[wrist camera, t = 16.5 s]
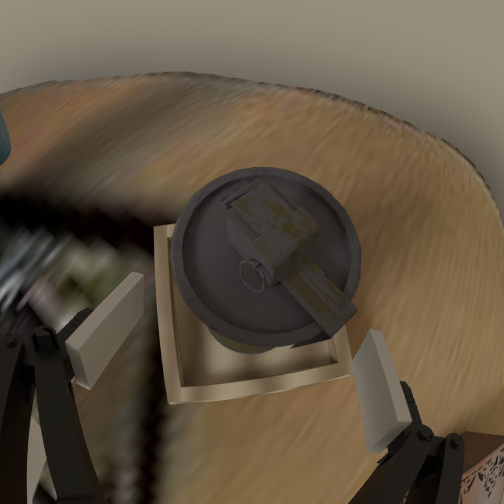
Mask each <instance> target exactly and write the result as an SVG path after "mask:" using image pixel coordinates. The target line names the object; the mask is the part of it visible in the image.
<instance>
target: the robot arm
mask: <svg viewBox="0 0 504 504" xmlns="http://www.w3.org/2000/svg"><path fill="white" fill-rule="evenodd" d="M10 151H11V142H10V137H9V133H8V130H7V127H6V124H5V121H4V118H3V115H2V112H1V110H0V166H1V165H2V164H3V163H4V162H5V161H6V160H7V158H8V157H9V155H10ZM143 314H144V275H143V274H140V273H136V272H132V273H131V274H130V275H129V276H128V277H126V278H125V279H124V280H123V281H122V282H121V283H120V284H119V285H118V286H117V287H116V288H115V289H114V290H113V292H112V293H111V294H110V295H109V296H108V297H107V298H106V299H105V300H104V301H103V302H102V303H101V304H100V305H99V306H98V307H97V308H96V309H95V310H92V309H89V308H86V309H84V310H82V311H80V312H78V313H77V314H76V315H75V316H74V317H73V319H71V320H70V321H69V323H68V324H66V326H65V327H64V328H63V329H62V330H61V331H60V332H59V333H58V334H56V331H55V330H54V329H53V328H52V327H49V326H39V327H37V328H35V329H33V331H32V332H31V333H30V340H31V343H32V344H29V343H25V342H23V340H22V337H21V335H19V334H18V333H15V332H10V333H7V334H5V335H4V336H2V338H1V339H0V504H27V453H28V438H29V428H30V420H31V412H32V406H33V399H34V393H35V388H36V394H37V403H38V412H39V419H40V426H41V432H42V437H43V443H44V448H45V452H46V457H47V461H48V466H49V470H50V473H51V477H52V481H53V484H54V488H55V491H56V494H57V500H56V504H108V502H107V500H106V498H105V495H104V493H103V490H102V488H101V485H100V483H99V480H98V478H97V475H96V472H95V469H94V467H93V464H92V461H91V458H90V455H89V452H88V448H87V445H86V442H85V438H84V435H83V431H82V427H81V424H80V420H79V416H78V411H77V407H76V403H75V398H74V393H73V388H72V384H71V380H72V379H73V377H74V376H75V378H76V382H77V384H79V385H81V386H83V387H85V388H87V389H89V390H90V389H91V388H92V386H93V385H94V383H95V382H96V380H97V379H98V377H99V376H100V375H101V373H102V372H103V370H104V369H105V367H106V366H107V364H108V363H109V361H110V360H111V358H112V357H113V356H114V354H115V353H116V351H117V350H118V348H119V347H120V346H121V344H122V343H123V341H124V340H125V339H126V337H127V336H128V334H129V333H130V332H131V330H132V329H133V327H134V326H135V325H136V323H137V322H138V321H139V319H140V318H141V316H142V315H143ZM351 363H352V368H353V373H354V378H355V383H356V388H357V393H358V399H359V404H360V410H361V416H362V421H363V427H364V434H365V440H366V447H367V453H379V452H382V451H383V450H384V449H385V448H386V447H387V448H388V453H387V454H386V455H385V456H384V457H383V458H381V459H380V460H379V461H378V462H377V463H378V464H379V465H378V466H377V468H376V469H375V470H374V472H373V473H372V474H371V476H370V477H369V478H368V480H367V481H366V482H365V483H364V485H363V486H362V487H361V488H360V490H359V491H358V492H357V493H356V495H355V496H354V497H353V498H352V499H351V501H350V502H349V503H348V504H400V503H401V502H402V500H403V499H404V497H405V495H406V494H407V492H408V490H409V492H408V495H407V498H406V502H405V504H458V501H459V495H460V489H461V482H462V474H463V465H464V453H465V442H464V440H463V438H462V437H461V436H460V435H458V434H457V433H451V434H449V435H448V436H447V437H446V438H442V437H438V436H434V434H433V432H432V430H431V429H430V428H429V427H428V426H425V425H423V424H422V421H421V418H420V415H419V412H418V409H417V406H416V404H415V400H414V398H413V394H412V391H411V389H410V387H409V386H408V385H407V383H406V382H404V381H399V378H398V376H397V373H396V370H395V367H394V364H393V361H392V359H391V356H390V353H389V351H388V348H387V345H386V343H385V340H384V337H383V335H382V332H381V331H380V330H375V329H369V331H368V333H367V335H366V337H365V339H364V340H363V342H362V344H361V346H360V348H359V350H358V351H357V353H356V355H355V357H354V359H353V360H352V362H351ZM409 488H410V489H409Z"/></svg>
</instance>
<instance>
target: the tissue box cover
mask: <svg viewBox="0 0 504 504" xmlns="http://www.w3.org/2000/svg"><path fill="white" fill-rule="evenodd" d="M460 436H461V437H462V438H463V440H464V442H465V453H464V465H463V474H462V482H461V489H460V495H459V501H458V504H501V500H502V495H503V491H504V436H501V435H491V434H483V433H475V432H468V431H466V432H464V433H463V434H461V435H460ZM409 489H410V488H409ZM408 492H409V490H408ZM408 492H407V494H406V495H405V497H404V499H403V500H402V502H401V503H400V504H405V502H406V498H407V495H408Z"/></svg>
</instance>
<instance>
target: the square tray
mask: <svg viewBox="0 0 504 504" xmlns="http://www.w3.org/2000/svg"><path fill="white" fill-rule="evenodd" d="M175 225H176V224H172V225H164V226H156V227H154V252H155V279H156V297H157V311H158V323H159V334H160V344H161V353H162V362H163V370H164V378H165V385H166V392H167V398H168V403H169V404H184V403H198V402H210V401H219V400H228V399H236V398H244V397H251V396H258V395H264V394H270V393H276V392H281V391H287V390H292V389H297V388H302V387H306V386H311V385H315V384H320V383H324V382H328V381H332V380H336V379H340V378H344V377H347V376H350V374H353V368H352V363H351V362H352V357H351V351H350V346H349V340H348V335H347V330H346V324H345V325H344V326H343V327H342V328H341V329H340V330H339V331H338V332H337V333H336V334H335V335H334V336H333V337H332V338H331V339H329V340H325V341H322V342H318V343H313V344H309V345H305V346H301V347H296V348H292V349H290V348H291V347H292V346H293V345H295V344H293V345H289V346H283V347H275V348H274V349H272V350H270V351H267V352H264V353H260V354H242V353H237V352H235V351H232V350H230V349H228V348H226V347H224V346H223V345H221V344H220V343H219V342H218V341H217V340H216V339H215V338H214V337H213V336H212V334H211V333H210V332H209V330H208V328H207V326H206V325H205V324H204V323H203V322H202V321H201V320H200V319H199V318H198V317H197V316H196V315H194V313H193V312H192V311H191V309H190V308H189V307H188V305H187V304H186V303H185V301H184V300H183V298H182V296H181V294H180V292H179V290H178V287H177V285H176V283H175V281H174V275H173V270H172V264H171V259H170V253H171V240H172V235H173V231H174V228H175Z"/></svg>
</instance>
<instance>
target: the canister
mask: <svg viewBox="0 0 504 504" xmlns="http://www.w3.org/2000/svg"><path fill="white" fill-rule="evenodd" d="M170 259H171V264H172V270H173V275H174V281H175V283H176V285H177V287H178V290H179V292H180V294H181V296H182V298H183V300H184V301H185V303H186V304H187V305H188V307H189V308H190V309H191V311H192V312H193V313H194V315H196V316H197V317H198V318H199V319H200V320H201V321H202V322H203V323H204V324H205V325H206V326H207V328H208V330H209V332H210V333H211V334H212V336H213V337H214V338H215V339H216V340H217V341H218V342H219V343H220V344H221V345H223V346H224V347H226V348H228V349H230V350H232V351H235V352H237V353H242V354H260V353H264V352H267V351H270V350H272V349H274V348H275V347H283V346H289V345H293V344H295V345H293V346H292V347H291V348H290V349H292V348H296V347H301V346H305V345H309V344H313V343H318V342H322V341H325V340H329V339H331V338H332V337H333V336H334V335H335V334H336V333H337V332H338V331H339V330H340V329H341V328H342V327H343V326H344V325H345V324H346V323H347V322H348V321H349V320H350V319H351V317H352V316H353V315H354V314H355V313H356V312H357V309H356V308H355V306H354V305H353V304H352V303H351V300H352V298H353V296H354V294H355V292H356V289H357V286H358V282H359V279H360V267H361V246H360V243H359V240H358V237H357V233H356V230H355V227H354V225H353V223H352V221H351V219H350V217H349V216H348V214H347V212H346V210H345V209H344V208H343V207H342V206H341V204H340V203H339V202H338V201H337V200H336V199H335V198H334V197H333V196H332V194H331V193H330V192H329V191H327V190H326V189H325V188H323V187H322V186H321V185H319V184H318V183H316V182H314V181H312V180H310V179H308V178H307V177H305V176H302V175H300V174H297V173H294V172H291V171H289V170H284V169H278V168H273V167H252V168H247V169H241V170H236V171H233V172H230V173H228V174H225V175H223V176H220V177H218V178H217V179H215V180H213V181H212V182H210V183H208V184H207V185H206V186H204V187H203V188H202V189H200V190H199V191H198V192H197V193H195V194H194V195H193V197H192V198H191V200H190V201H189V202H188V204H187V205H186V206H185V208H184V209H183V211H182V212H181V214H180V216H179V218H178V220H177V222H176V225H175V228H174V231H173V235H172V240H171V253H170Z"/></svg>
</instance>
